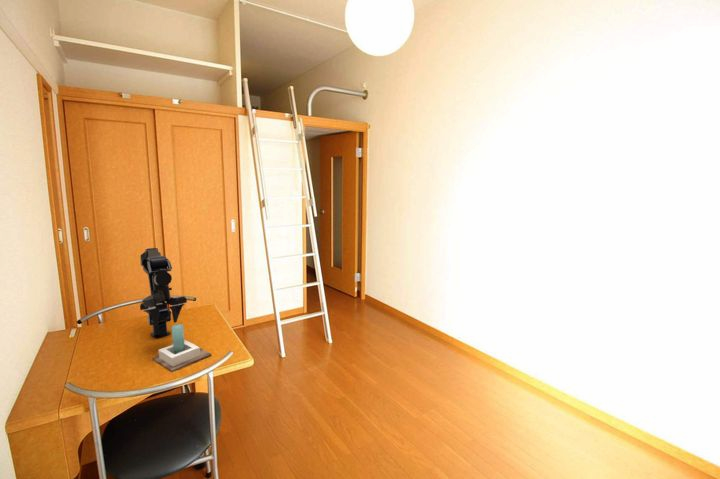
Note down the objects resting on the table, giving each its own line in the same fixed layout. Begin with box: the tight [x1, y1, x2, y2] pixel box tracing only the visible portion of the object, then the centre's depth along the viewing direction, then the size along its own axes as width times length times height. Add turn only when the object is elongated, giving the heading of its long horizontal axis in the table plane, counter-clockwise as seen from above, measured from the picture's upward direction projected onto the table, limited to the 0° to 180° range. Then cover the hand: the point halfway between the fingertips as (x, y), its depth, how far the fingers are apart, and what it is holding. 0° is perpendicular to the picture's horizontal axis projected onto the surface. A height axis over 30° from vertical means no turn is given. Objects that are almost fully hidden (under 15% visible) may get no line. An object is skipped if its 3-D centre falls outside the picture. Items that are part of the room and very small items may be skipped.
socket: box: [157, 339, 201, 366], centre depth 142 cm, size 11×11×4 cm
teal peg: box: [171, 323, 185, 354], centre depth 141 cm, size 4×4×13 cm
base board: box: [151, 347, 212, 373], centre depth 143 cm, size 16×16×1 cm
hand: (166, 323), depth 147 cm, fingers open, 9 cm apart
